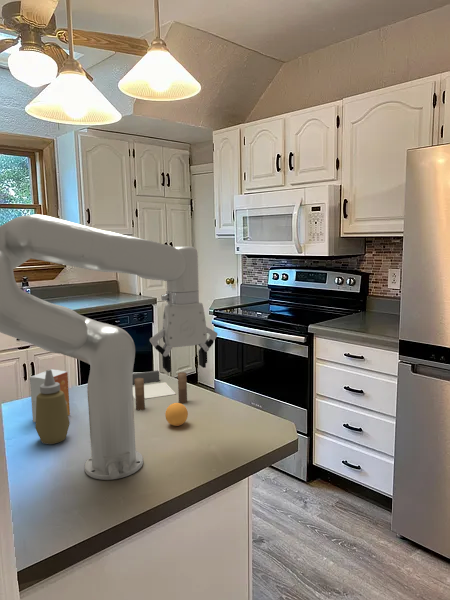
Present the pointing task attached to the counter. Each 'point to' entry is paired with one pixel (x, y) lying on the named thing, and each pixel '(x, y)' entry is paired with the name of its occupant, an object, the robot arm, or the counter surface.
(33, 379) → the small box
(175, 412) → the ball
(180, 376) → the right post
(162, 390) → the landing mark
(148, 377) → the stopper wall
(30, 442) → the counter surface
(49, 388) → the squeeze bottle
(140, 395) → the left post
